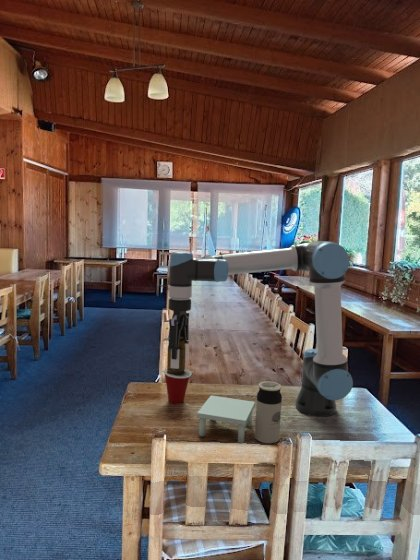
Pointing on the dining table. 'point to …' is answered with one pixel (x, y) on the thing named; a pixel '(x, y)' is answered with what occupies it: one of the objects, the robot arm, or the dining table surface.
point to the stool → (226, 413)
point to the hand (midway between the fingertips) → (178, 364)
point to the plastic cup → (176, 387)
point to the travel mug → (268, 412)
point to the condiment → (181, 370)
